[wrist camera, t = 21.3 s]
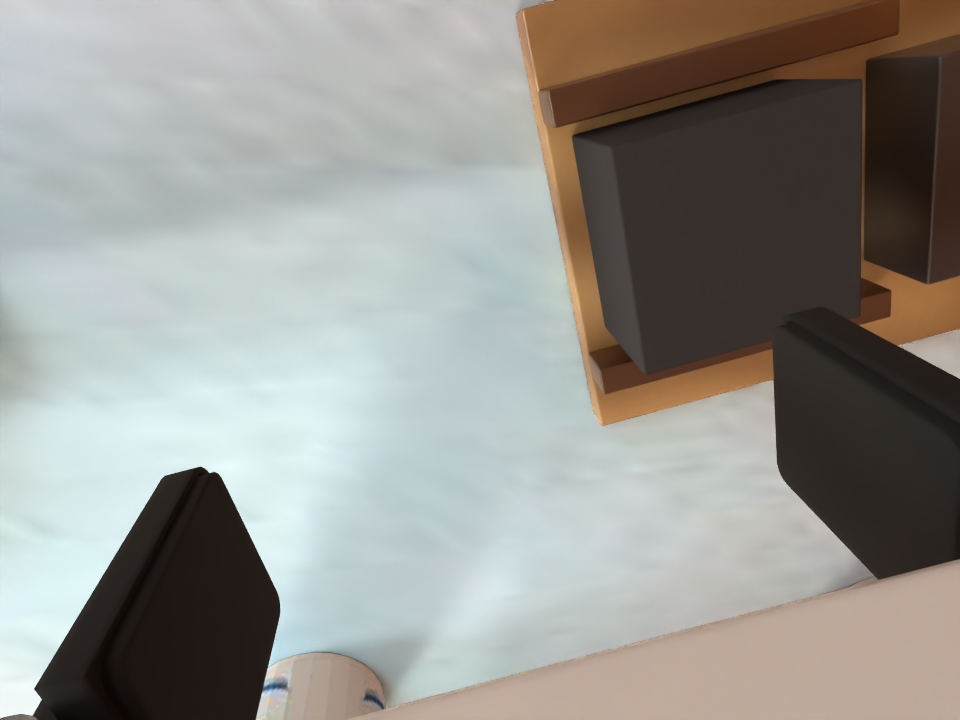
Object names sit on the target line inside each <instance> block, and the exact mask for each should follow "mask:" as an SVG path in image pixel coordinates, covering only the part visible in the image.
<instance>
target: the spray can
mask: <svg viewBox="0 0 960 720" xmlns="http://www.w3.org/2000/svg"><path fill="white" fill-rule="evenodd" d="M383 709H386V704H385V699H384V694H383V689H382V685H381V683H380V681H379V680H378V678H377V677H376V675H375V674H374V673H373V672H372V671H371V670H370V669H369V668H367V667H366V666H365V665H364V664H362V663H360V662H358V661H356V660H354V659H352V658H350V657H346V656H342V655H338V654H334V653H318V652H313V653H306V654H299V655H294V656H292V657H289V658H286V659H283V660H280V661H278V662H277V663H275V664H273V665H272V666H270V667H269V668H268V669H267V673H266V677H265V682H264V686H263V690H262V695H261V699H260V703H259V708H258V712H257V716H256V720H346V719H350V718H353V717H357V716H361V715H365V714H368V713H372V712H376V711H379V710H383Z"/></svg>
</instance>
